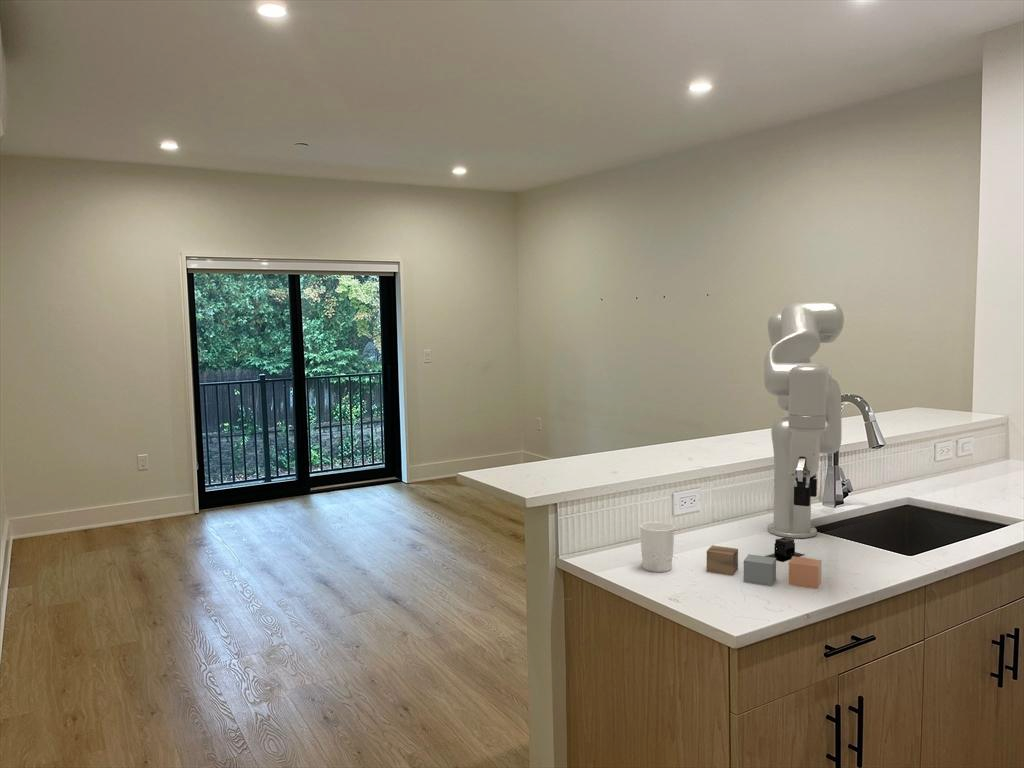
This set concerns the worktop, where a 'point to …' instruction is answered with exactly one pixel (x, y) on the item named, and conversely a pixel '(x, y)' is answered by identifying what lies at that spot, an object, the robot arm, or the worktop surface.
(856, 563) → the worktop surface
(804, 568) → the terracotta block
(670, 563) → the white cup
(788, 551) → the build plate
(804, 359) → the robot arm
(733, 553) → the walnut block
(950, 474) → the worktop surface
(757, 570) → the slate grey block
